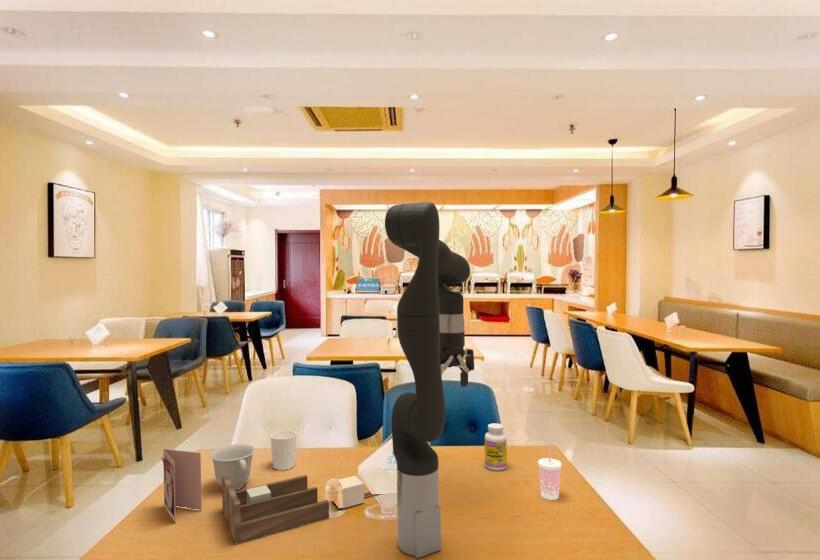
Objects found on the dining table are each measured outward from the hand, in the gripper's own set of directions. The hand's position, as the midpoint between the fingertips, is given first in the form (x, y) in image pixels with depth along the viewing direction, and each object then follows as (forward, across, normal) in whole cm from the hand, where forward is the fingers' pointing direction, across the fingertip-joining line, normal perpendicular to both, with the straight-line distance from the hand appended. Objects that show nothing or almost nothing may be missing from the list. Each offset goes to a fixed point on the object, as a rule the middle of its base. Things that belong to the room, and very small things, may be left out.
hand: (451, 388), depth 131 cm
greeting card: (+28, -66, +26) cm, 76 cm away
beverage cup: (+28, +20, -17) cm, 39 cm away
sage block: (+28, -49, +16) cm, 59 cm away
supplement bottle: (+28, +20, +5) cm, 35 cm away
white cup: (+28, -36, +40) cm, 61 cm away
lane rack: (+28, -46, +12) cm, 55 cm away
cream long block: (+28, -20, +8) cm, 35 cm away
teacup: (+28, -52, +32) cm, 67 cm away
